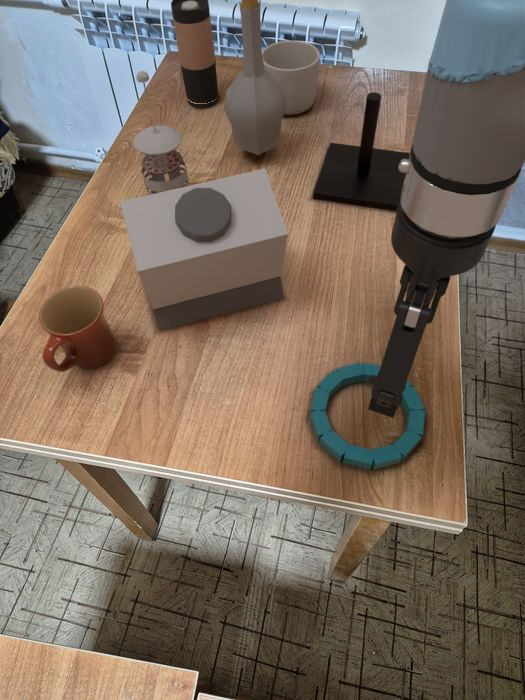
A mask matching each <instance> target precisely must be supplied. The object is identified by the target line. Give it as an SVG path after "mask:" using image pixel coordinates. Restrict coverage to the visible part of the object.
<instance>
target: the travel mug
mask: <svg viewBox="0 0 525 700" xmlns="http://www.w3.org/2000/svg"><path fill="white" fill-rule="evenodd" d="M209 4H210V3H209V0H171V2H170V7H171V14H172V21H173V26H174V27H173V28H174V34H175V40H176V46H177V53H178V59H179V65H180V71H181V75H182V80H183V81H182V82H183V85H184V90H185V95H186V100H187V103H188V105H189V106H191V107H193V108H196V109H207V108H210V107H212V106H215V105H216V104H217V103H218V101H219V89H218V88H219V87H218V76H217V75H218V74H217V63H216V54H215V46H214V37H213V30H212V29H213V28H212V21H211V12H210V5H209ZM217 96H218V97H217ZM187 98H188V99H189V100H190V101H192V102H195V103H207V104H194V103H191V102H190V101H188V99H187ZM216 98H217V99H216ZM215 99H216V100H215ZM213 100H214V101H213ZM211 101H213V102H211ZM208 102H210V103H208Z"/></svg>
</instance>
